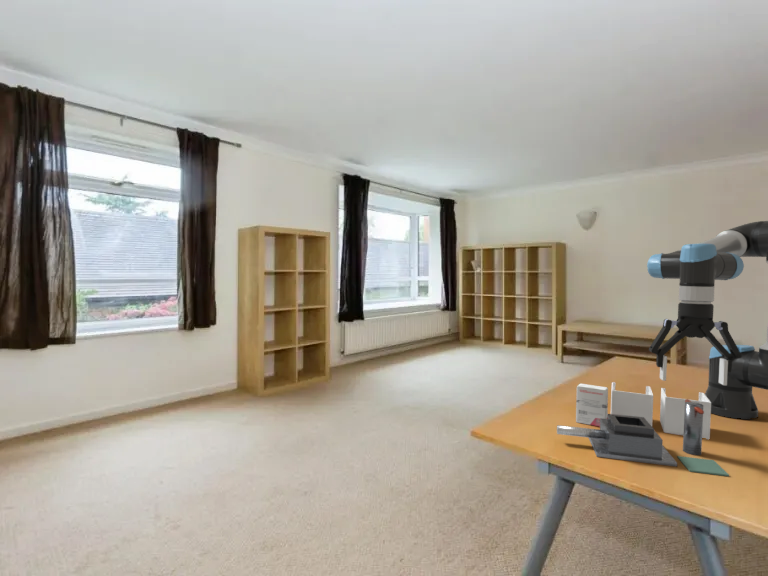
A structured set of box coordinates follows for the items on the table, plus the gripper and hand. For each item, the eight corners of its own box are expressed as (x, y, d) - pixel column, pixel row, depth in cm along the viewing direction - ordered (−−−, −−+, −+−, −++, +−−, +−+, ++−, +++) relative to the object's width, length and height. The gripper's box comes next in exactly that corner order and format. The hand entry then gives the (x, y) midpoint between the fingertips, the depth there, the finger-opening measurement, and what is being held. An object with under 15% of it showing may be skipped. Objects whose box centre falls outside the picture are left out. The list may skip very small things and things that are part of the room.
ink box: (608, 423, 133) (609, 386, 133) (605, 428, 129) (607, 390, 129) (578, 418, 138) (579, 382, 137) (575, 422, 134) (576, 385, 133)
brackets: (610, 424, 133) (612, 390, 132) (610, 414, 143) (611, 382, 142) (709, 440, 121) (711, 402, 121) (701, 427, 131) (703, 392, 130)
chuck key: (693, 446, 117) (695, 399, 116) (708, 460, 108) (710, 410, 107) (677, 444, 118) (678, 398, 117) (689, 458, 109) (692, 408, 108)
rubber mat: (713, 461, 107) (713, 460, 107) (729, 476, 100) (729, 474, 100) (677, 457, 110) (677, 455, 109) (689, 471, 102) (689, 469, 102)
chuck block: (658, 444, 118) (659, 415, 117) (676, 466, 104) (678, 435, 104) (554, 432, 126) (555, 406, 125) (559, 452, 112) (560, 422, 112)
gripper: (745, 302, 111) (741, 382, 112) (638, 299, 119) (635, 374, 120) (761, 305, 104) (756, 389, 105) (646, 301, 112) (643, 381, 113)
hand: (692, 381), depth 112 cm, fingers open, 13 cm apart
